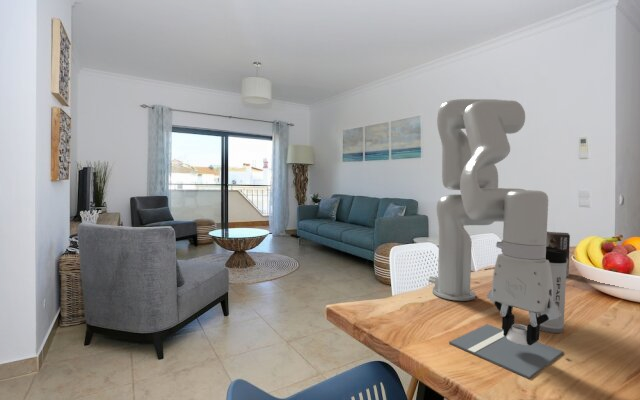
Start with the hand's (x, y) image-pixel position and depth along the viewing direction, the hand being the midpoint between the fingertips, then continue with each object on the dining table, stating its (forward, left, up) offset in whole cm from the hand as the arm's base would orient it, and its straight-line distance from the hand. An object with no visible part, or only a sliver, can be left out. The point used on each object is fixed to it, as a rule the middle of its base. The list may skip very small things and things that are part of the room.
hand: (519, 337), depth 68 cm
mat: (-3, 0, -3) cm, 4 cm away
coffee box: (-21, +78, -4) cm, 81 cm away
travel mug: (-2, +19, -4) cm, 19 cm away
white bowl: (0, 0, -1) cm, 1 cm away
